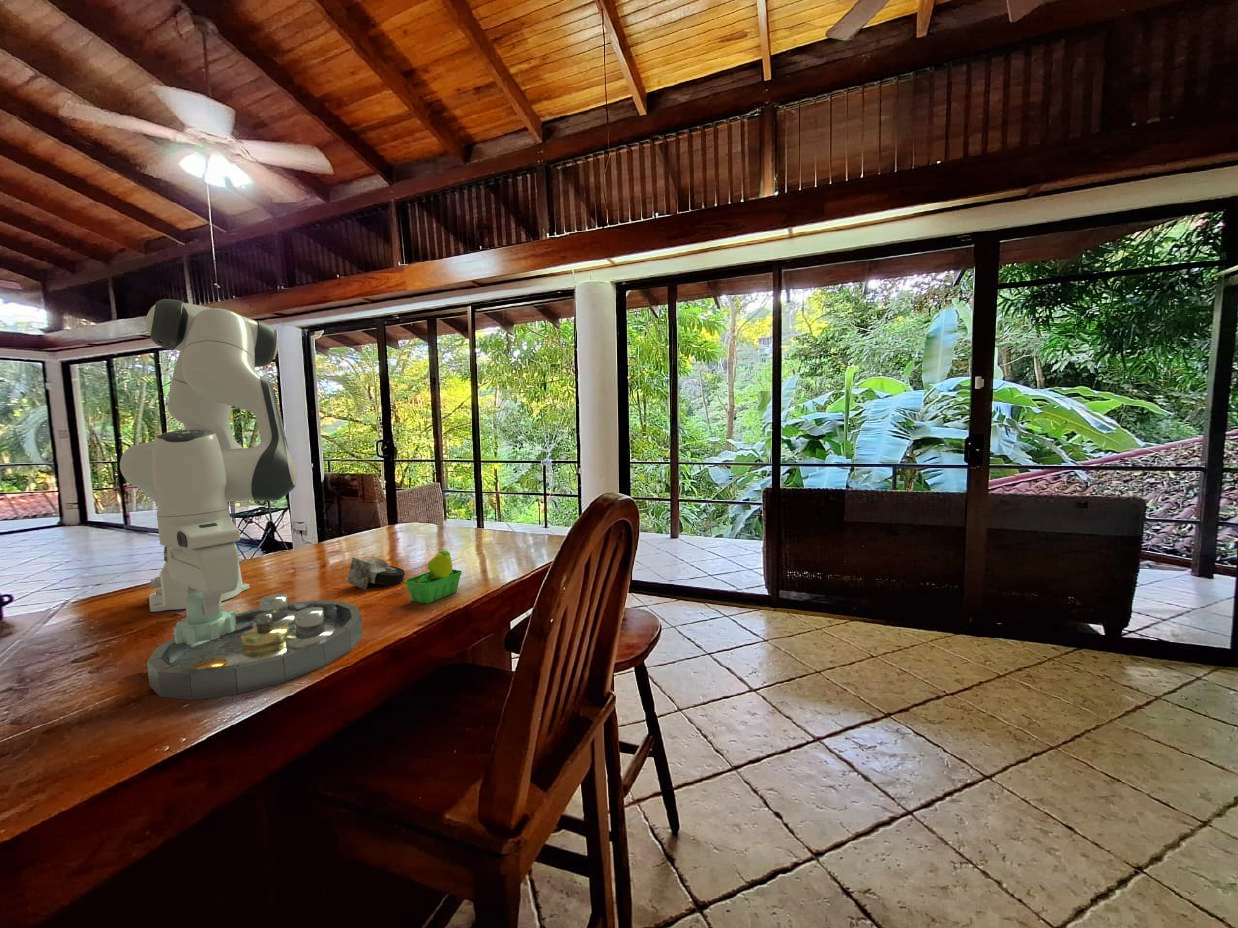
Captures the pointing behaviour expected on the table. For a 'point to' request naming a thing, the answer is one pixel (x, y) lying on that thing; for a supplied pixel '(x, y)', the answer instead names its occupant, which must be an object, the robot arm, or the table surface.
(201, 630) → the planet gear
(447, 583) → the fruit basket
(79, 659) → the table surface
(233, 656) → the tray
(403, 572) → the caster wheel
